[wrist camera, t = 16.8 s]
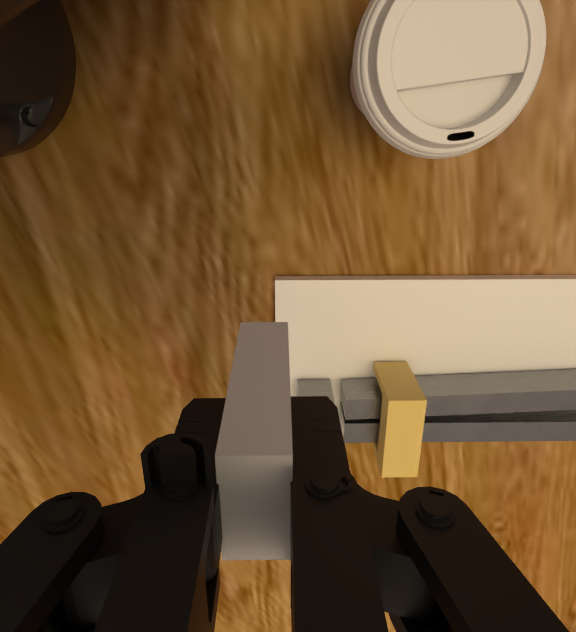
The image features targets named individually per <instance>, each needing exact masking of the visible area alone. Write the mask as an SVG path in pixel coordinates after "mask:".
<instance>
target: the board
mask: <svg viewBox="0 0 576 632" xmlns="http://www.w3.org/2000/svg"><path fill="white" fill-rule="evenodd" d="M275 322H288V339H289V367H290V394H291V396H298V380H330V381H331V386H332V391H333V396H334V404H335V405H336V406H337V409H338V414H340V402H341V379H364V378H376V376H375V373H374V370H373V368H374V362H407V363H408V365H409V367H410V369H411V371H412V372H413V374H414V376H432V375H454V374H477V373H500V372H522V371H545V370H568V369H576V275H405V276H275Z"/></svg>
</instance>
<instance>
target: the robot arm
mask: <svg viewBox="0 0 576 632" xmlns="http://www.w3.org/2000/svg"><path fill="white" fill-rule="evenodd" d="M74 80H75V52H74V45H73V40H72V35H71V31H70V28H69V24H68V21H67V19H66V16H65V13H64V11H63V9H62V6H61V4H60V2H59V0H0V156H6V155H12V154H16V153H19V152H22V151H25V150H27V149H29V148H31V147H33V146H35V145H36V144H38V143H40V142H41V141H42V140H44V139H45V138H46V137H47V136H48V135H49V134H50V133H51V132H52V131H53V130H54V129H55V128H56V126H57V125H58V124H59V122H60V121H61V119H62V117H63V116H64V114H65V112H66V110H67V107H68V105H69V102H70V99H71V96H72V92H73V87H74ZM141 460H142V468H143V475H144V482H145V491H144V493H143V494H141V495H139V496H137V497H135V498H133V499H130V500H127V501H124V502H120V503H116V504H112V505H108V506H104V507H101V503H100V502H99V500H98V499H97V498H96V497H95V496H93V495H91V494H88V493H86V492H70V493H65V494H61V495H57V496H55V497H53V498H51V499H49V500H47V501H45V502H43V503H42V504H40V505H39V506H38V507H37V508H35V509H34V510H33V511H32V512H31V513H30V514H29V515H28V516H27V517H26V518H25V519H24V520H23V521H22V522H21V523H20V524H19V525H18V526H17V528H16V529H15V530H14V531H13V532H12V533H11V534H10V535H9V536H8V537H7V538H6V539H5V540H4V541H3V542H2V543H1V544H0V632H214V628H215V620H216V612H217V604H218V596H219V588H220V576H219V560H220V553H221V552H222V560H286V559H291V619H292V632H388V628H387V623H386V618H385V613H384V612H388V613H389V616H390V619H391V621H392V624H393V626H394V628H395V630H396V632H569V631H568V630H567V628H566V627H565V626H564V625H563V623H562V622H561V621H560V620H559V619H558V617H557V616H556V615H555V614H554V612H553V611H552V610H551V609H550V607H549V606H548V605H547V604H546V602H545V601H544V600H543V599H542V597H541V596H540V595H539V594H538V593H537V591H536V590H535V589H534V588H533V586H532V585H531V584H530V583H529V581H528V580H527V579H526V578H525V576H524V575H523V574H522V573H521V571H520V570H519V569H518V568H517V567H516V565H515V564H514V563H513V562H512V560H511V559H510V558H509V557H508V555H507V554H506V553H505V552H504V550H503V549H502V548H501V547H500V546H499V544H498V543H497V542H496V541H495V539H494V538H493V537H492V536H491V534H490V533H489V532H488V531H487V529H486V528H485V527H484V526H483V524H482V523H481V522H480V521H479V520H478V518H477V517H476V516H475V515H474V513H473V512H472V511H471V510H470V508H469V507H468V506H467V505H466V504H465V503H464V502H463V501H462V500H461V499H460V498H458V497H457V496H456V495H454V494H452V493H450V492H448V491H446V490H443V489H439V488H434V487H417V488H414V489H412V490H409V491H407V492H406V493H405V494H404V495H403V496H402V497H401V498H400V501H396V500H392V499H388V498H384V497H380V496H377V495H374V494H372V493H370V492H368V491H366V490H364V489H363V488H362V487H361V486H359V485H358V484H357V482H356V480H355V478H354V477H353V476H352V475H351V473H350V470H349V465H348V460H347V455H346V450H345V445H344V439H343V434H342V429H341V424H340V419H339V414H338V409H337V406H336V405H335V404H334V403H333V402H332V401H331V400H330V399H329V398H328V396H291V394H290V367H289V339H288V322H241V323H240V329H239V334H238V339H237V344H236V349H235V354H234V359H233V365H232V370H231V375H230V380H229V385H228V390H227V396H226V398H194V399H193V400H192V401H191V402H190V403H189V404H188V405H187V406H186V407H185V408H183V409H182V412H181V415H180V418H179V421H178V425H177V427H176V430H175V433H174V434H168V435H165V436H163V437H160V438H157V439H155V440H154V441H152V442H151V443H150V444H148V445H147V446H146V447H145V448H144V450H143V451H142V453H141Z"/></svg>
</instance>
